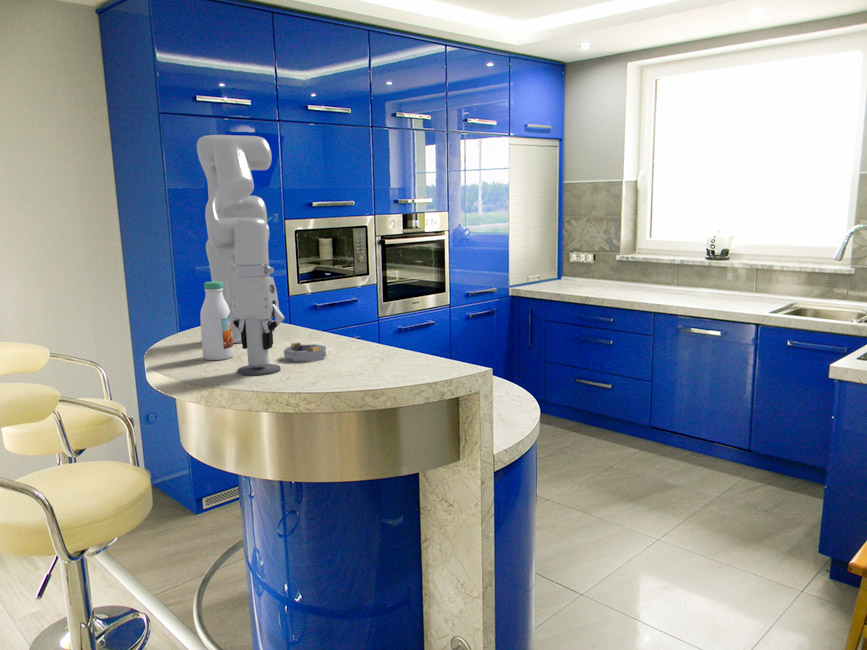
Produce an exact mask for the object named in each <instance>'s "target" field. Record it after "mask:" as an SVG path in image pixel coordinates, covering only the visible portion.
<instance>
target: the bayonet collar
mask: <svg viewBox="0 0 867 650" xmlns="http://www.w3.org/2000/svg"><path fill="white" fill-rule="evenodd" d="M283 354H284V355H283V356H284V357H283V358H284V361H288V362H292V363H306V362H309V363H310V362H316V361H321V360H324V359H325V358H326V357H327V347H326V345H321V344H302V343H301V342H293V343H292V342H291V343H290V346H288V347H287V346H286V348H285V349H284V350H283Z"/></svg>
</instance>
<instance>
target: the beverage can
mask: <svg viewBox="0 0 867 650" xmlns="http://www.w3.org/2000/svg"><path fill="white" fill-rule="evenodd" d="M245 323H246V338H247V348H246V350H247V352H246V353H247V364H248V365H249V366H250V367H264V366H267V365H268V364H270V361H269V349H267V350H264V349H263V333H265V331H264V328H263V325H262V321H260V320H256V319H255V318H254V317H248V319H247V320H245Z"/></svg>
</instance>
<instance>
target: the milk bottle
mask: <svg viewBox="0 0 867 650" xmlns="http://www.w3.org/2000/svg"><path fill="white" fill-rule="evenodd" d="M203 287H204V288H203V289H204V292H205V297H204V300H203V303H202V305H201V306H202V307H201V309H200V313H199V314H200V334H201V335H200V337H201V346H202V347H201V348H202V349H201V350H202V357H203V359H204V360H207V361H220V360H228V359H230V358H233V357H234V354H235V353H234V343H233V337H232V324H231V321H230V320H229V319H228V318H227V316H228V315H229V313H230V310H229V307H228V305H227V303H226V301H225V299H224V297H223V294H222V290H223V283H222V282H219V281H215V282H212V281H205V282H204V283H203Z"/></svg>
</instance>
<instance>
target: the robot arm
mask: <svg viewBox="0 0 867 650" xmlns="http://www.w3.org/2000/svg"><path fill="white" fill-rule="evenodd" d="M196 150H197V157H198V160H199V163H200V165H201V167H202V171H203V172H204V175H205V177H206V183H207V192H208V193H207V195H208V200H207V203H206V204H205V211H204V212H205V223H206V229H207V240H206V243H205V251H206V257H207V260H208V263H209V270H210V271H209V272H210V277H211V282H215V281H219V282H222V283H223V290H222V294H223V297H224V299H225V301H226V303H227V305H228V307H229V310H230V313H229V315H228V316H227V318H228V319H229V320H230V321H231V324H232V337H233V344H240V343H241V345H242V347H241V348H242V349H243V350H247V338H246V323H245V320H247V319H248V317H254V318H255V319H256V320H260V321H262V325H263V328H264V331H265V333H263V349H264V350H267V349H268V350H270V349H272V348H273V345H274V335H273V332H275V330H276V329H277V327H278V326H279V325H280V324H281V323H283V321H284V320H285V319H286V318H285V315H284V314H283V313H282V312H281V310H280V307H279V299H278V292H277V286H276V284H275V280H274V277H273V276H271V274H274V272H275V268H274V267H273V266H270V263H269V262H270V260H269V259H270V258H269V240H270V227H269V224H268V215H267V207H266V203H265V201H264V200H263V198H261V197H259V196H257V195H251V194H252V193H253V192H254V189H255V184H254V178H253V175H252V171H267V170H268V169H270V167H271V165H272V159H273V158H272V157H273V155H272V150H271V148H270V144H269V143H268V141H267V140H266V139H265V138H264V137H261V136H258V135H257V136H256V135H238V134H237V135H233V134H208V135H203V136H201V137H199V138H198V140H197V141H196ZM273 319H274V320H273Z"/></svg>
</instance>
